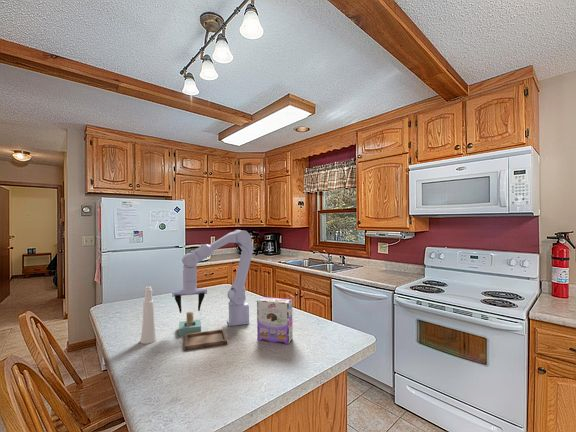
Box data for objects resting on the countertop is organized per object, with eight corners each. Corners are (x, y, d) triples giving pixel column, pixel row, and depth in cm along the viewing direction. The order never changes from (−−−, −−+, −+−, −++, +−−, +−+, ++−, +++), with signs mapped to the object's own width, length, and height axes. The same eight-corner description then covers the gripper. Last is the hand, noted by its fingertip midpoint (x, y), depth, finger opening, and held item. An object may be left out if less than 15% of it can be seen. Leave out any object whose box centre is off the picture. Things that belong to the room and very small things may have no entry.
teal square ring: (200, 325, 131) (200, 319, 131) (201, 333, 123) (200, 326, 123) (179, 328, 128) (179, 321, 128) (178, 336, 120) (178, 329, 120)
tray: (224, 332, 123) (224, 328, 123) (227, 344, 112) (227, 340, 112) (184, 337, 118) (184, 333, 118) (184, 350, 107) (184, 346, 107)
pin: (193, 329, 127) (193, 311, 127) (193, 331, 125) (193, 313, 125) (186, 330, 126) (186, 312, 126) (186, 332, 124) (186, 314, 124)
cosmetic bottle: (138, 344, 112) (138, 289, 112) (142, 338, 118) (142, 285, 118) (155, 343, 113) (155, 288, 113) (157, 336, 119) (157, 284, 119)
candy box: (293, 338, 117) (293, 299, 117) (288, 344, 111) (288, 303, 112) (262, 334, 122) (262, 296, 122) (256, 340, 116) (256, 299, 116)
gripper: (206, 277, 132) (206, 306, 132) (172, 279, 127) (172, 310, 127) (207, 280, 125) (207, 311, 125) (171, 283, 120) (171, 315, 120)
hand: (189, 311), depth 125 cm, fingers open, 7 cm apart
